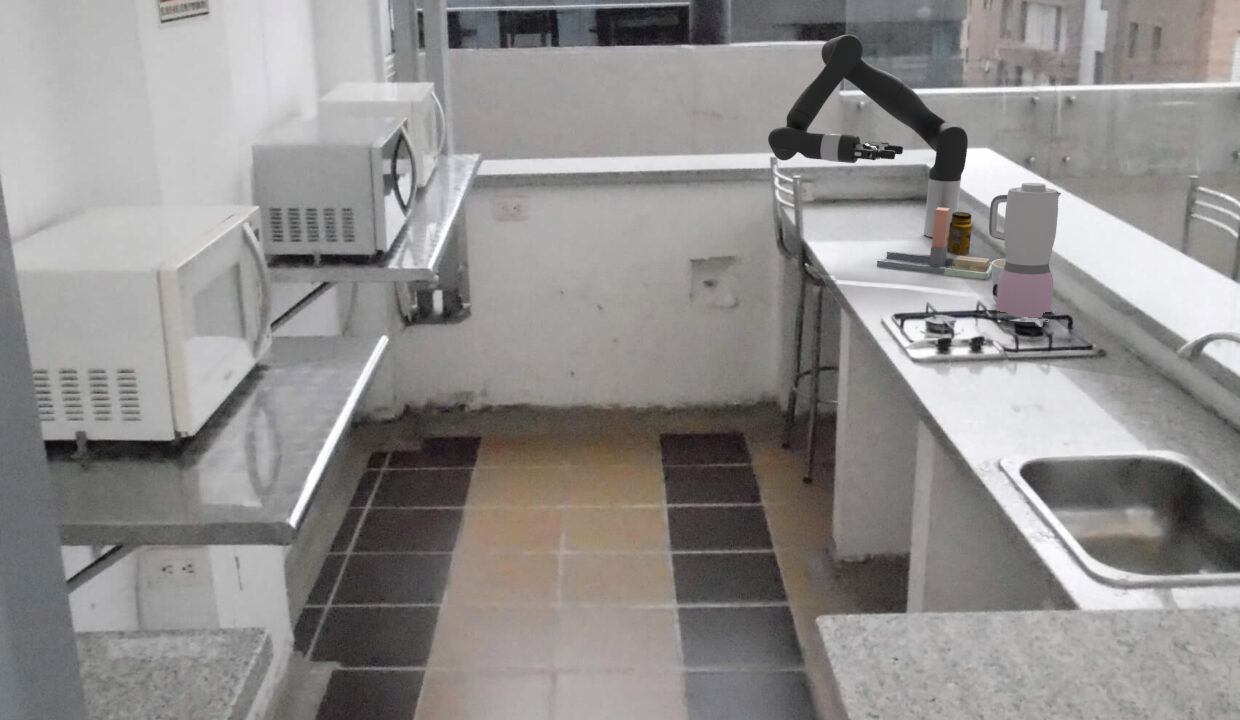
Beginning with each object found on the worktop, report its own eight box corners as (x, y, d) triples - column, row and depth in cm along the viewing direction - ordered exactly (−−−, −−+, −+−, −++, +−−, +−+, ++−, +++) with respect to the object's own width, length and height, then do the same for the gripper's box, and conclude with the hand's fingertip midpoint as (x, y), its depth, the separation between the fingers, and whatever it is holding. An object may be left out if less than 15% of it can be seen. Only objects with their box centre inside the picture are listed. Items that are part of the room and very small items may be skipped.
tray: (952, 267, 323) (953, 258, 322) (994, 271, 319) (995, 262, 318) (943, 277, 313) (944, 268, 312) (986, 282, 308) (987, 273, 308)
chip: (972, 271, 317) (973, 257, 315) (987, 273, 315) (989, 258, 314) (969, 275, 313) (971, 260, 312) (985, 277, 312) (986, 262, 310)
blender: (1057, 319, 277) (1070, 182, 269) (1041, 330, 268) (1054, 189, 259) (991, 311, 286) (1001, 178, 278) (973, 321, 277) (983, 184, 268)
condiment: (975, 256, 334) (979, 214, 330) (954, 260, 330) (959, 218, 326) (955, 250, 340) (959, 209, 336) (934, 255, 336) (938, 213, 332)
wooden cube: (957, 270, 318) (958, 255, 317) (972, 271, 317) (973, 257, 315) (954, 273, 315) (955, 259, 314) (969, 275, 313) (970, 260, 312)
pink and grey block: (933, 263, 322) (939, 206, 317) (945, 265, 321) (951, 207, 316) (928, 269, 317) (934, 210, 311) (940, 271, 316) (946, 211, 310)
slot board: (887, 259, 331) (888, 250, 330) (952, 267, 323) (953, 258, 322) (876, 269, 320) (877, 260, 320) (943, 277, 313) (944, 268, 312)
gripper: (833, 138, 319) (893, 142, 312) (848, 130, 331) (906, 135, 324) (831, 165, 321) (891, 171, 314) (846, 157, 333) (903, 162, 326)
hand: (898, 152), depth 319 cm, fingers open, 8 cm apart
